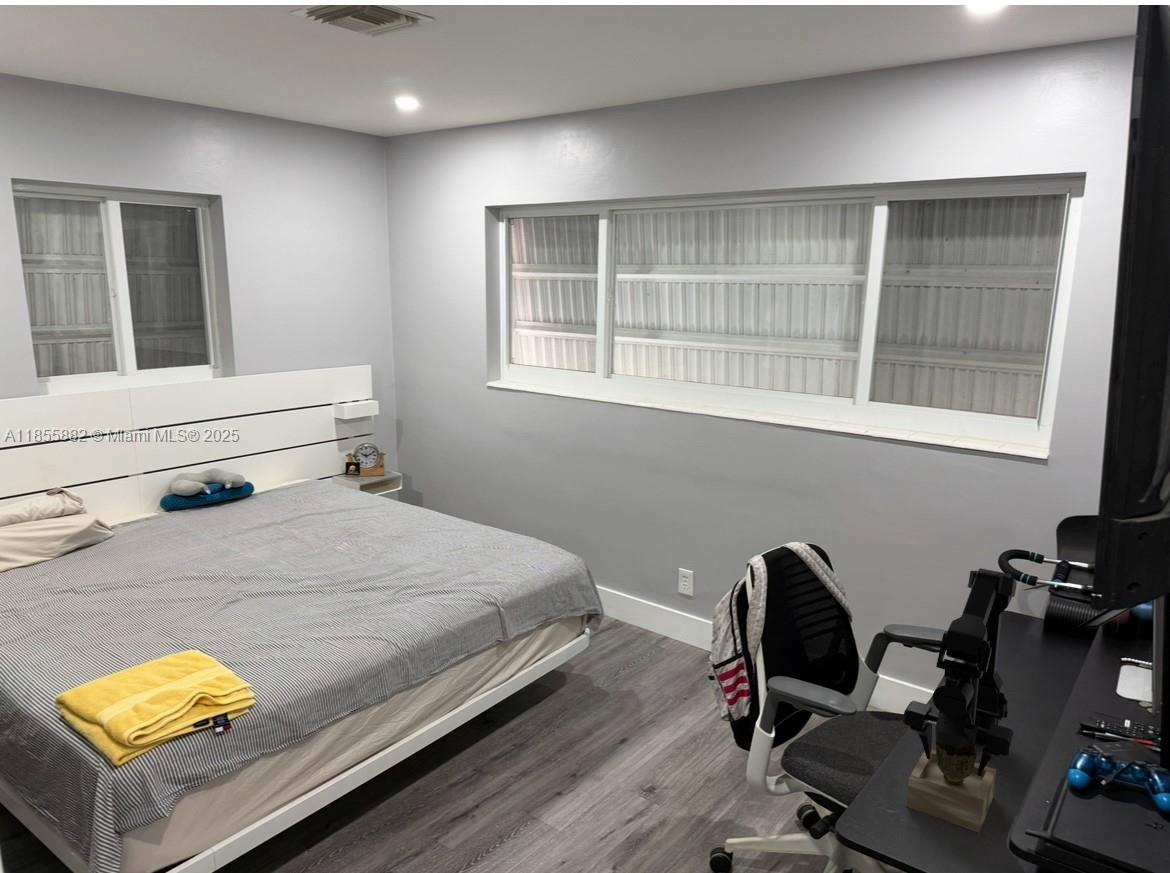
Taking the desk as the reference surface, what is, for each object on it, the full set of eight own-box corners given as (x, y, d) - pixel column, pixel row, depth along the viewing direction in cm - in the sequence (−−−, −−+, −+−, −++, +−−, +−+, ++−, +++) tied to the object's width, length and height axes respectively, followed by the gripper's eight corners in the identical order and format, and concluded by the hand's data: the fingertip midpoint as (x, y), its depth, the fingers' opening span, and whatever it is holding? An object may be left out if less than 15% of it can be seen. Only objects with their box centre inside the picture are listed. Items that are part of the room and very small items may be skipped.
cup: (980, 780, 157) (983, 743, 156) (966, 798, 152) (970, 759, 151) (940, 765, 162) (944, 728, 161) (926, 781, 157) (929, 744, 156)
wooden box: (924, 773, 167) (926, 747, 166) (993, 797, 160) (996, 769, 158) (906, 806, 157) (908, 778, 156) (979, 833, 149) (982, 804, 148)
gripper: (897, 695, 153) (891, 769, 156) (1007, 727, 142) (998, 806, 145) (913, 672, 162) (908, 743, 165) (1018, 700, 151) (1009, 776, 154)
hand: (953, 766), depth 157 cm, fingers open, 9 cm apart
